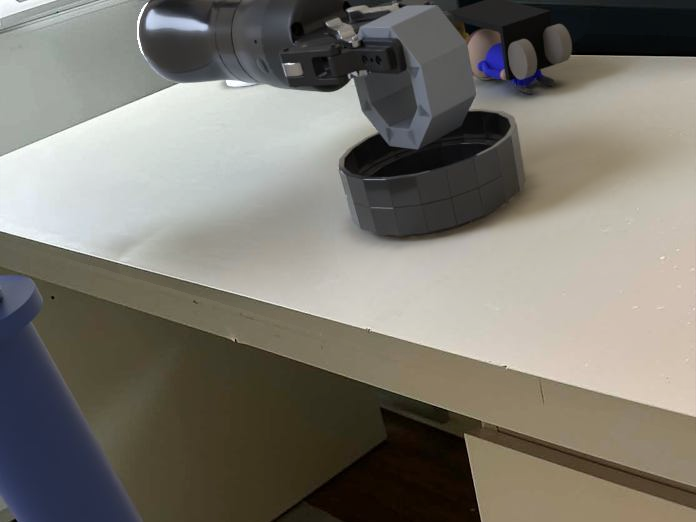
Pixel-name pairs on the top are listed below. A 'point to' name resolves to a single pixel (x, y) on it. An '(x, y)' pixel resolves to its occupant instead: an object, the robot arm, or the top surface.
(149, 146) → the top surface
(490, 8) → the figurine character
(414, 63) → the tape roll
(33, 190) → the top surface
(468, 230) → the top surface
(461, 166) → the bowl
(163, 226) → the top surface
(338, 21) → the robot arm
